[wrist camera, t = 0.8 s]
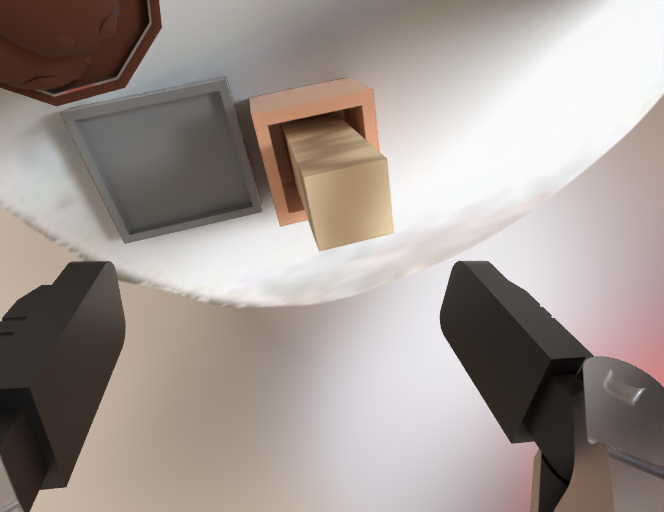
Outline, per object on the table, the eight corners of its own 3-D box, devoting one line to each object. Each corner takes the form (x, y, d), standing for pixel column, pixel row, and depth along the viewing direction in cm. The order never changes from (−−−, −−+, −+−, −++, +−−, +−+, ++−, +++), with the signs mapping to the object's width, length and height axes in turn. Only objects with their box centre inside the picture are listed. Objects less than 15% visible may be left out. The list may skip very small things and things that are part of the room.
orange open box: (347, 77, 31) (373, 89, 25) (360, 172, 35) (384, 201, 29) (249, 97, 30) (251, 114, 24) (273, 191, 34) (280, 226, 28)
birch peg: (330, 108, 31) (386, 158, 19) (338, 158, 33) (393, 233, 21) (279, 119, 30) (303, 177, 19) (290, 169, 33) (319, 251, 21)
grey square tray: (226, 76, 29) (225, 79, 27) (261, 202, 34) (262, 211, 33) (71, 107, 28) (60, 113, 26) (130, 232, 33) (124, 243, 32)
